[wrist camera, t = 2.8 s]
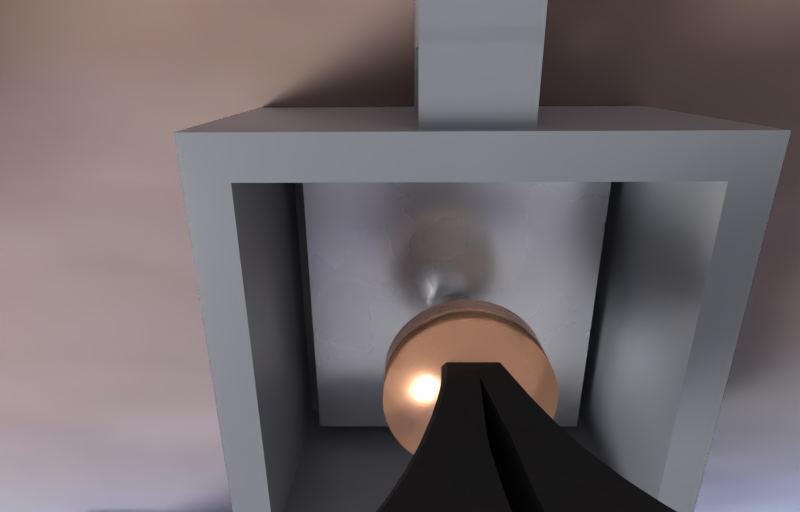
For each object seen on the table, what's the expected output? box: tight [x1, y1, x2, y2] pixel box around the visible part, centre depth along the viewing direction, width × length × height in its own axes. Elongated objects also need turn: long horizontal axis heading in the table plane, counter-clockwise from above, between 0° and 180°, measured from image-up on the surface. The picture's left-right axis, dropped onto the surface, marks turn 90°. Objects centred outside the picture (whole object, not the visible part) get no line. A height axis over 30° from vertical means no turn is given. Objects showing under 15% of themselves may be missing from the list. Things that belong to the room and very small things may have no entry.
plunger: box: [303, 182, 611, 455], centre depth 14 cm, size 9×9×5 cm
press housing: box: [174, 0, 791, 512], centre depth 15 cm, size 15×12×6 cm
